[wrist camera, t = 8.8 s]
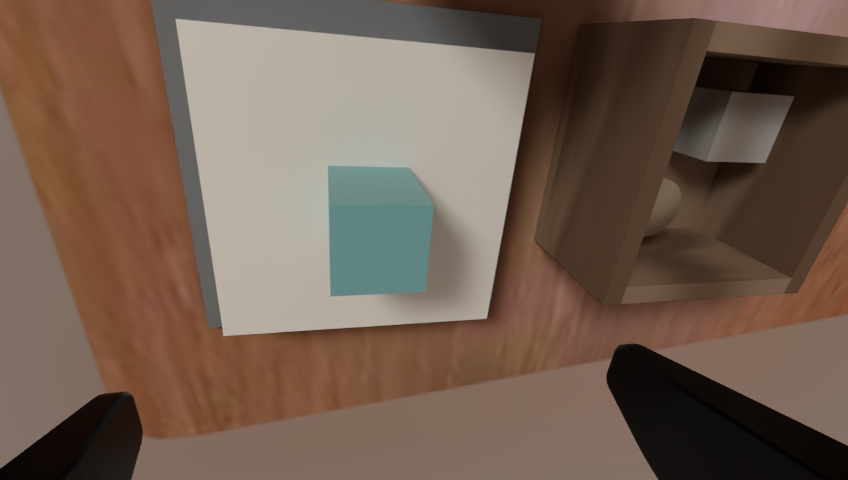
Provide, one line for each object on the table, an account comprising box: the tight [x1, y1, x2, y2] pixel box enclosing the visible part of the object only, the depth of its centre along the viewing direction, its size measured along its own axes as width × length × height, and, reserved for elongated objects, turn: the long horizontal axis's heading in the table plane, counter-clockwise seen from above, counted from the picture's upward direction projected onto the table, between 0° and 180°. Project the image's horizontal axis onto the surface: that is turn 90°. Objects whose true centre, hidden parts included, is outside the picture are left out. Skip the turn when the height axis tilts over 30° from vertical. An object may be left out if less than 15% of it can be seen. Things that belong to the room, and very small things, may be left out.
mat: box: [151, 0, 542, 328], centre depth 18 cm, size 14×14×1 cm
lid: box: [175, 19, 535, 336], centre depth 15 cm, size 12×12×6 cm
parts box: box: [534, 18, 848, 305], centre depth 18 cm, size 10×10×6 cm
